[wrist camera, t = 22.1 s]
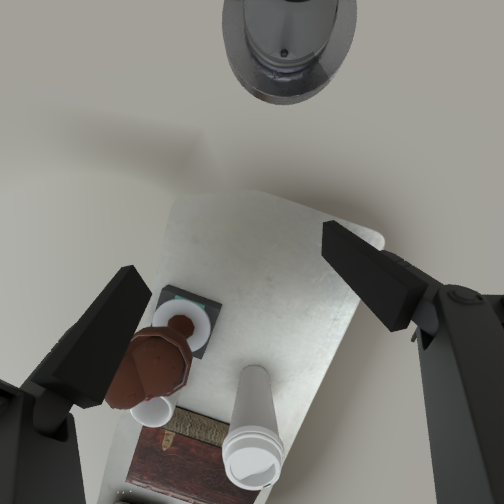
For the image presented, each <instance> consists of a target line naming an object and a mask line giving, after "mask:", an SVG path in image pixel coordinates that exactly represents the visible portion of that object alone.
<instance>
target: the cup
mask: <svg viewBox="0 0 504 504" xmlns="http://www.w3.org/2000/svg"><path fill="white" fill-rule="evenodd" d="M180 391H181V389H179V390H178V391H176V392H175V393H173V394H172V395H170V396H169V397H155V398H145V399H144V400H143V401H142V402H141V403H139V404H138V405H136V406H135V407H133V408H131V409H130V410H131V413H132V415H133V417H134V418H135V420H136V421H138V422H139V423H140V424H142V425H144V426H147V427H160V426H162V425H164V424H166V423H167V422H168V421H169V420H170V419H171V417H172V415H173V412H174V409H175V406H176V403H177V400H178V397H179V394H180Z"/></svg>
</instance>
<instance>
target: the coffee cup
mask: <svg viewBox="0 0 504 504" xmlns="http://www.w3.org/2000/svg"><path fill="white" fill-rule="evenodd" d="M222 456H223V461H224V465H225V471H226V474H227V476H228V478H229V479H230V480H231V481H232V482H233V483H234V484H235V485H237V486H238V487H241V488H243V489H247V490H262V489H265V488H268V487H270V486H271V485H273V484H274V483H275V482H276V481H277V480H278V478H279V476H280V472H281V467H282V465H283V460H284V445H283V443H282V441H281V439H280V438H279V433H278V427H277V421H276V416H275V410H274V404H273V398H272V392H271V386H270V380H269V375H268V372H267V371H266V370H265V369H264V368H263V367H261V366H258V365H251V366H248V367H246V368H244V369H243V371H242V372H241V375H240V379H239V384H238V389H237V394H236V398H235V403H234V408H233V413H232V417H231V422H230V427H229V431H228V435H227V437H226V438H225V440H224V442H223V445H222Z"/></svg>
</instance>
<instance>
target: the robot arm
mask: <svg viewBox="0 0 504 504" xmlns="http://www.w3.org/2000/svg"><path fill="white" fill-rule="evenodd" d="M338 4H339V0H244V5H243V16H244V29H245V36H246V39H247V43H248V45H249V47H250V50H251V51H252V53H253V55H254V56H255V57H256V58H257V60H258V61H259V62H260V63H261V64H263V65H264V66H265V67H267V68H269V69H271V70H273V71H277V72H282V73H290V72H296V71H299V70H301V69H304V68H306V67H307V66H309V65H310V64H312V63H313V62H314V61H315V60H316V59H317V58H318V57H319V56H320V55H321V53H322V52H323V50H324V49H325V47H326V45H327V43H328V41H329V39H330V36H331V33H332V31H333V28H334V26H335V22H336V19H337V14H338ZM321 255H322V256H323V258H324V259H325V260H326V261H327V262H328V263H329V264H330V265H331V266H332V267H333V269H334V270H335V271H336V272H337V273H338V274H339V275H340V276H341V277H342V279H343V280H344V281H345V282H346V283H347V284H348V285H349V286H350V287H351V288H352V290H353V291H354V292H355V293H356V294H357V295H358V296H359V297H360V298H361V300H362V301H363V302H364V303H365V304H366V305H367V306H368V307H369V308H370V310H371V311H372V312H373V313H374V314H375V315H376V316H377V317H378V318H379V319H380V321H381V322H382V323H383V324H384V325H385V326H386V327H387V328H388V329H389V331H390V332H394V331H398V330H402V329H406V328H407V327H408V325H409V323H410V321H411V320H412V321H413V322H414V323H415V324H417V325H418V327H417V329H416V330H415V332H414V334H413V336H412V338H411V341H412V342H414V341H415V339H416V338H417V343H418V351H419V359H420V367H421V375H422V384H423V392H424V400H425V408H426V417H427V425H428V433H429V441H430V449H431V458H432V466H433V474H434V482H435V491H436V499H437V504H504V295H481V294H480V293H478V292H476V291H474V290H472V289H469V288H466V287H463V286H459V285H451V284H448V285H443V284H442V283H440V282H439V281H437V280H435V279H434V278H432V277H431V276H429V275H427V274H426V273H424V272H423V271H421V270H420V269H418V268H416V267H415V266H412V265H411V264H410V263H409V262H407V261H404V259H402V258H400V257H399V256H397V255H396V254H394V253H391V252H388V251H385V250H381V251H379V250H377V249H376V248H374V247H373V246H371V245H370V244H369V243H367V242H366V241H364V240H363V239H361V238H360V237H358V236H357V235H355V234H354V233H352V232H351V231H349V230H348V229H346V228H345V227H343V226H342V225H340V224H339V223H337V222H336V221H334V220H332V221H328V222H323V234H322V254H321ZM151 296H152V293H151V291H150V290H149V288H148V287H147V285H146V284H145V282H144V281H143V279H142V278H141V276H140V275H139V273H138V272H137V270H136V269H135V267H134V266H133V265H130V266H125V267H121V269H120V270H119V271H118V272H117V273H116V275H115V276H114V277H113V278H112V280H111V281H110V282H109V283H108V285H107V286H106V287H105V288H104V290H103V291H102V292H101V293H100V294H99V296H98V297H97V298H96V299H95V301H94V302H93V303H92V304H91V305H90V307H89V308H88V309H87V311H86V312H85V313H84V314H83V315H82V317H81V318H80V319H79V320H78V321H77V323H75V324H74V325H73V326H72V327H71V328H70V329H68V330H67V331H66V333H65V334H64V335H63V336H62V337H61V339H60V340H59V341H58V343H56V345H55V346H54V347H53V348H52V349H51V352H49V353H48V354H47V355H46V357H45V358H44V359H43V360H42V361H41V363H40V364H39V365H38V366H37V367H36V369H35V370H34V371H33V372H32V373H31V375H30V376H29V377H28V378H27V379H26V381H25V382H24V383H23V384H22V385H21V387H20V388H18V387H15V386H13V385H11V384H9V383H7V382H5V381H3V380H1V379H0V504H86V500H85V493H84V487H83V479H82V472H81V464H80V457H79V450H78V443H77V436H76V429H75V421H74V417H73V415H72V414H71V413H69V411H70V409H71V407H72V406H73V404H76V405H77V406H79V407H81V408H83V409H85V408H89V407H93V406H97V405H101V404H102V402H103V400H104V398H105V396H106V394H107V392H108V389H109V387H110V385H111V383H112V381H113V379H114V376H115V374H116V372H117V370H118V368H119V366H120V363H121V361H122V359H123V357H124V355H125V352H126V350H127V348H128V346H129V344H130V342H131V339H132V337H133V335H134V333H135V331H136V329H137V326H138V324H139V322H140V320H141V318H142V316H143V313H144V311H145V309H146V307H147V305H148V303H149V300H150V298H151Z"/></svg>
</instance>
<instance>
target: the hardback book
mask: <svg viewBox="0 0 504 504" xmlns="http://www.w3.org/2000/svg"><path fill="white" fill-rule="evenodd" d="M229 427H230V425H227V424H224V423H221V422H218V421H215V420H212V419H209V418H206V417H203V416H200V415H197V414H194V413H192V412H189V411H186V410H183V409H180V408H177V407H175V409H174V412H173V415H172V417H171V419H170V420H169V421H168V422H167V423H166V424H164V425H162V426H160V427H147V426H144V425H143V427H142V430H141V433H140V436H139V440H138V443H137V446H136V449H135V452H134V455H133V459H132V462H131V465H130V468H129V471H128V474H127V478H126V481H125V482H127V483H131V484H134V485H137V486H140V487H143V488H146V489H149V490H152V491H155V492H158V493H161V494H165V495H168V496H171V497H174V498H177V499H180V500H183V501H186V502H189V503H192V504H253V503H254V502H255V500H256V498H257V496H258V494H259V492H260V491H261V490H247V489H243V488H241V487H238V486H237V485H235V484H234V483H233V482H232V481H231V480H230V479H229V478H228V476H227V474H226V471H225V465H224V461H223V456H222V445H223V442H224V440H225V438H226V437H227V435H228V431H229Z"/></svg>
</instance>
